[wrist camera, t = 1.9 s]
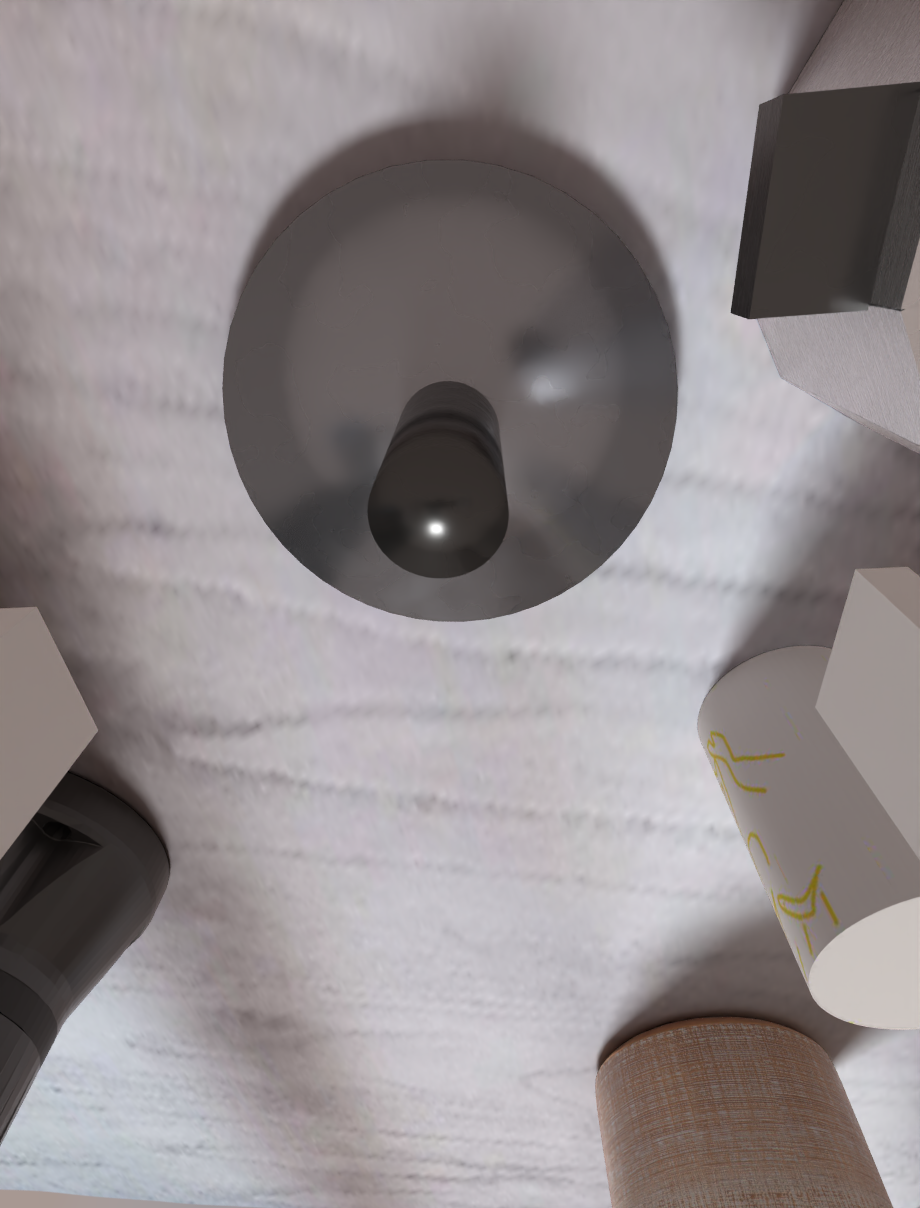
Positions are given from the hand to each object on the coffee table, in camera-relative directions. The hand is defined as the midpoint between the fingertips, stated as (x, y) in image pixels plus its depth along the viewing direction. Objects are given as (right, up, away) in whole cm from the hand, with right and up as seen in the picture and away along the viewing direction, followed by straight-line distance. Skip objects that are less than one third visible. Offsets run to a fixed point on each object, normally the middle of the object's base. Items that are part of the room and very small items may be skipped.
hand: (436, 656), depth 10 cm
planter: (+20, -35, +38) cm, 56 cm away
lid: (0, +8, +13) cm, 15 cm away
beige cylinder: (+16, -4, +20) cm, 26 cm away
